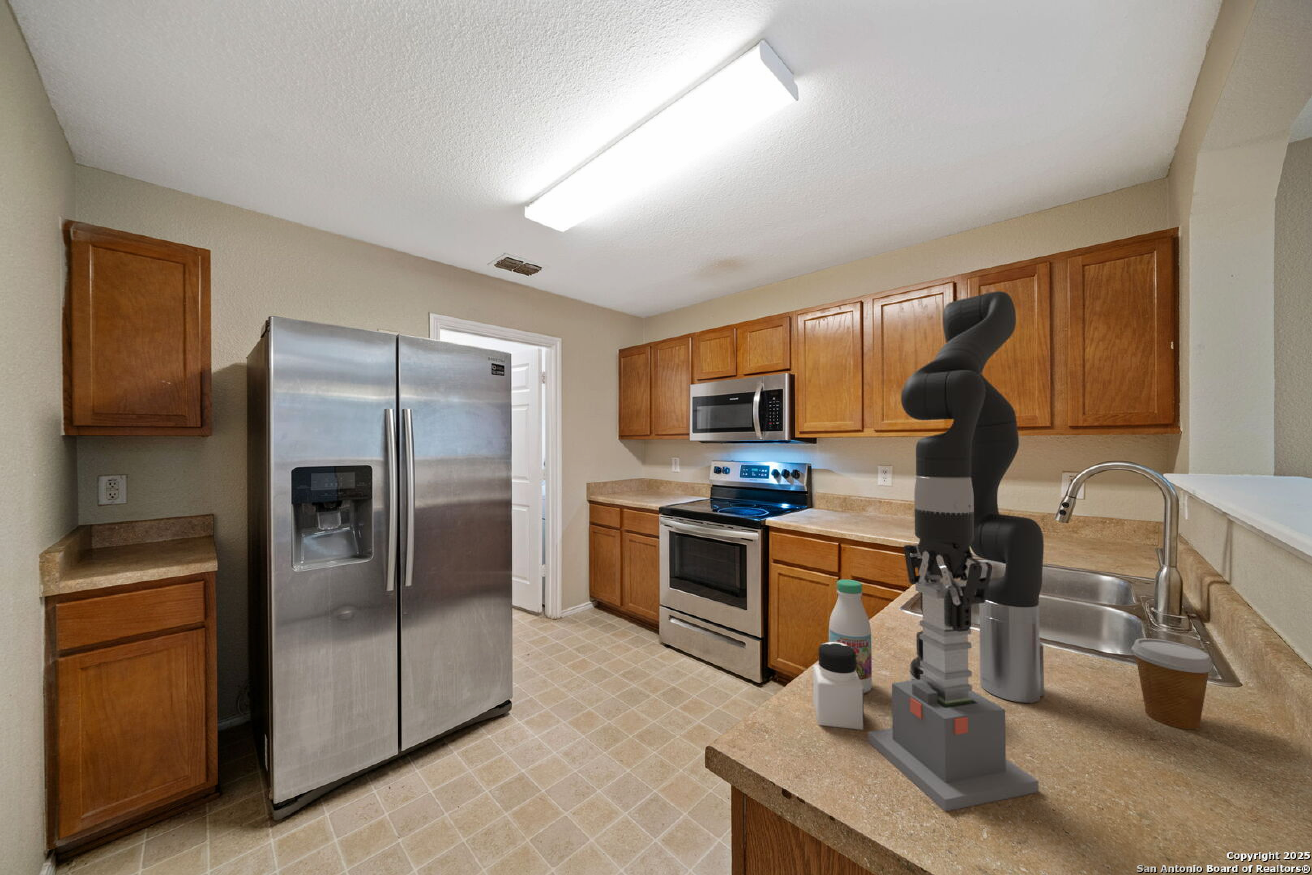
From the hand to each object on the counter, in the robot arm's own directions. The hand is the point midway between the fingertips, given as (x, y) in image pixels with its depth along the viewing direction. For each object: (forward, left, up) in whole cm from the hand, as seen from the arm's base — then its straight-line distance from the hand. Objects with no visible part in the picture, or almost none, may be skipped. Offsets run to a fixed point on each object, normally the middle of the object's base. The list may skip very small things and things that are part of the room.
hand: (944, 622), depth 71 cm
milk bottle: (-1, -24, -21) cm, 32 cm away
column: (0, 0, -13) cm, 13 cm away
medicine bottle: (+8, -15, -21) cm, 27 cm away
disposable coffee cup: (-47, -1, -21) cm, 51 cm away
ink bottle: (-12, -14, -21) cm, 28 cm away
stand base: (0, 0, -21) cm, 21 cm away
